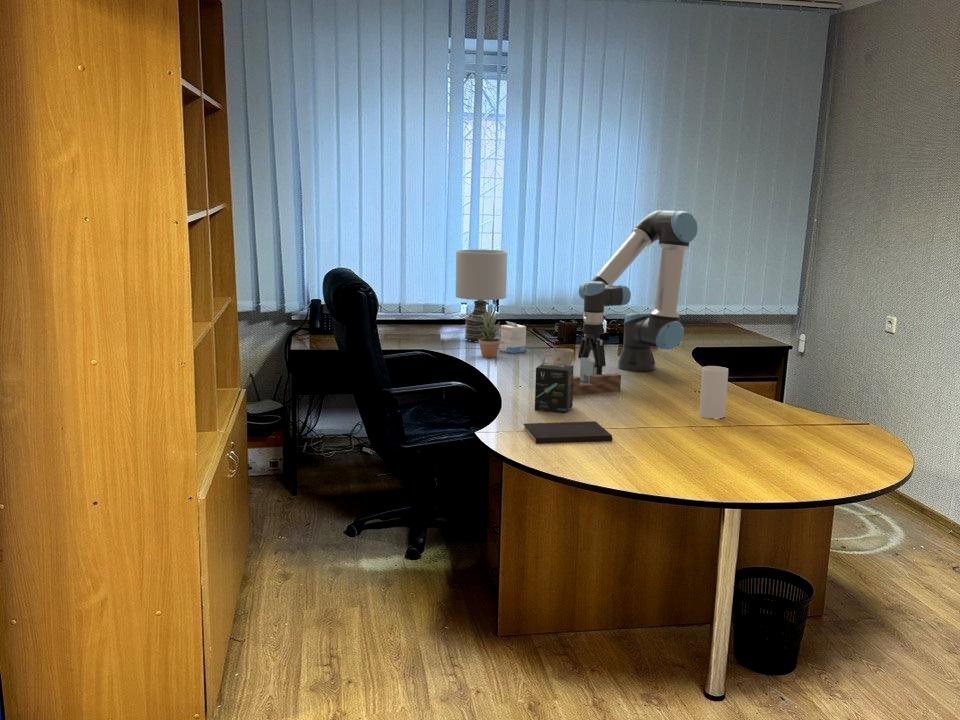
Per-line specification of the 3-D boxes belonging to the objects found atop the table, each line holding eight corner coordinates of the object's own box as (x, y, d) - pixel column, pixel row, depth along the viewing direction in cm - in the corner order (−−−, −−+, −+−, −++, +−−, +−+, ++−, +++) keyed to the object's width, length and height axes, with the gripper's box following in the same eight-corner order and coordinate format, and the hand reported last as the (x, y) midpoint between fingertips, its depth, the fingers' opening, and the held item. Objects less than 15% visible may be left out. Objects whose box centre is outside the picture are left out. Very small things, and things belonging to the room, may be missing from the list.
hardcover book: (523, 430, 271) (523, 423, 271) (595, 428, 275) (595, 421, 275) (535, 445, 256) (536, 438, 255) (612, 443, 260) (612, 435, 259)
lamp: (505, 345, 413) (507, 253, 404) (453, 343, 413) (455, 252, 405) (504, 336, 436) (506, 249, 428) (455, 335, 436) (457, 248, 428)
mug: (571, 377, 345) (572, 352, 343) (539, 375, 347) (540, 350, 345) (573, 373, 353) (574, 348, 351) (542, 371, 355) (543, 347, 353)
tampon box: (572, 407, 299) (574, 364, 296) (566, 413, 290) (568, 370, 287) (541, 404, 302) (542, 362, 299) (534, 410, 294) (535, 367, 291)
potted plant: (495, 353, 391) (497, 298, 386) (503, 357, 382) (504, 300, 377) (474, 354, 388) (475, 298, 383) (481, 358, 379) (482, 301, 374)
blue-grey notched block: (589, 379, 342) (590, 356, 340) (601, 385, 333) (602, 361, 331) (579, 380, 340) (580, 357, 339) (592, 385, 331) (593, 362, 329)
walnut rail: (616, 389, 326) (617, 373, 325) (620, 391, 324) (621, 375, 323) (547, 394, 316) (548, 377, 315) (551, 396, 314) (551, 379, 313)
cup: (710, 420, 285) (714, 371, 282) (693, 414, 292) (697, 367, 289) (730, 417, 289) (733, 369, 286) (712, 412, 296) (716, 365, 293)
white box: (526, 352, 396) (527, 322, 394) (511, 353, 392) (511, 323, 389) (514, 348, 403) (515, 319, 401) (499, 350, 399) (500, 321, 396)
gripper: (570, 318, 341) (568, 375, 345) (598, 327, 320) (596, 387, 325) (588, 318, 344) (585, 374, 348) (617, 327, 323) (614, 386, 327)
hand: (590, 380), depth 336 cm, fingers closed on blue-grey notched block, 10 cm apart
